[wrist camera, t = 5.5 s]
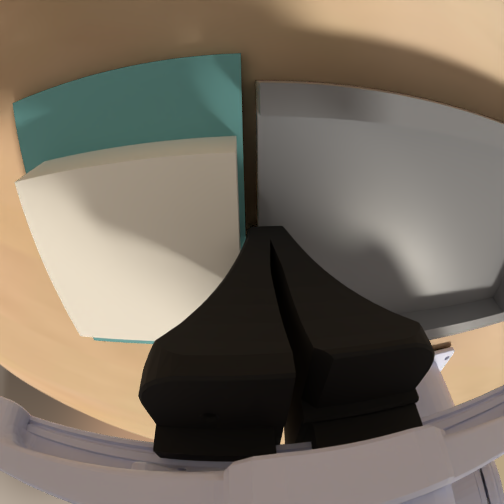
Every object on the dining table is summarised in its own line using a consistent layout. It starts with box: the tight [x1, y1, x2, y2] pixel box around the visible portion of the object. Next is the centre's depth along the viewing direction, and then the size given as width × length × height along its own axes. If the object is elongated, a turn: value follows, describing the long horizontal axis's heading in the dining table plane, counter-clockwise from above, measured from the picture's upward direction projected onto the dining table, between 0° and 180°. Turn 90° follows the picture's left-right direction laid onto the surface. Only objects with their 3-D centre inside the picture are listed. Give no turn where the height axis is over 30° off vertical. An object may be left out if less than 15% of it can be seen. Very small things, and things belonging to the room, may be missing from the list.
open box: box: [256, 80, 504, 340], centre depth 12 cm, size 12×17×2 cm
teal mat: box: [13, 53, 246, 344], centre depth 12 cm, size 14×10×1 cm
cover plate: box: [15, 136, 241, 341], centre depth 11 cm, size 8×8×2 cm
